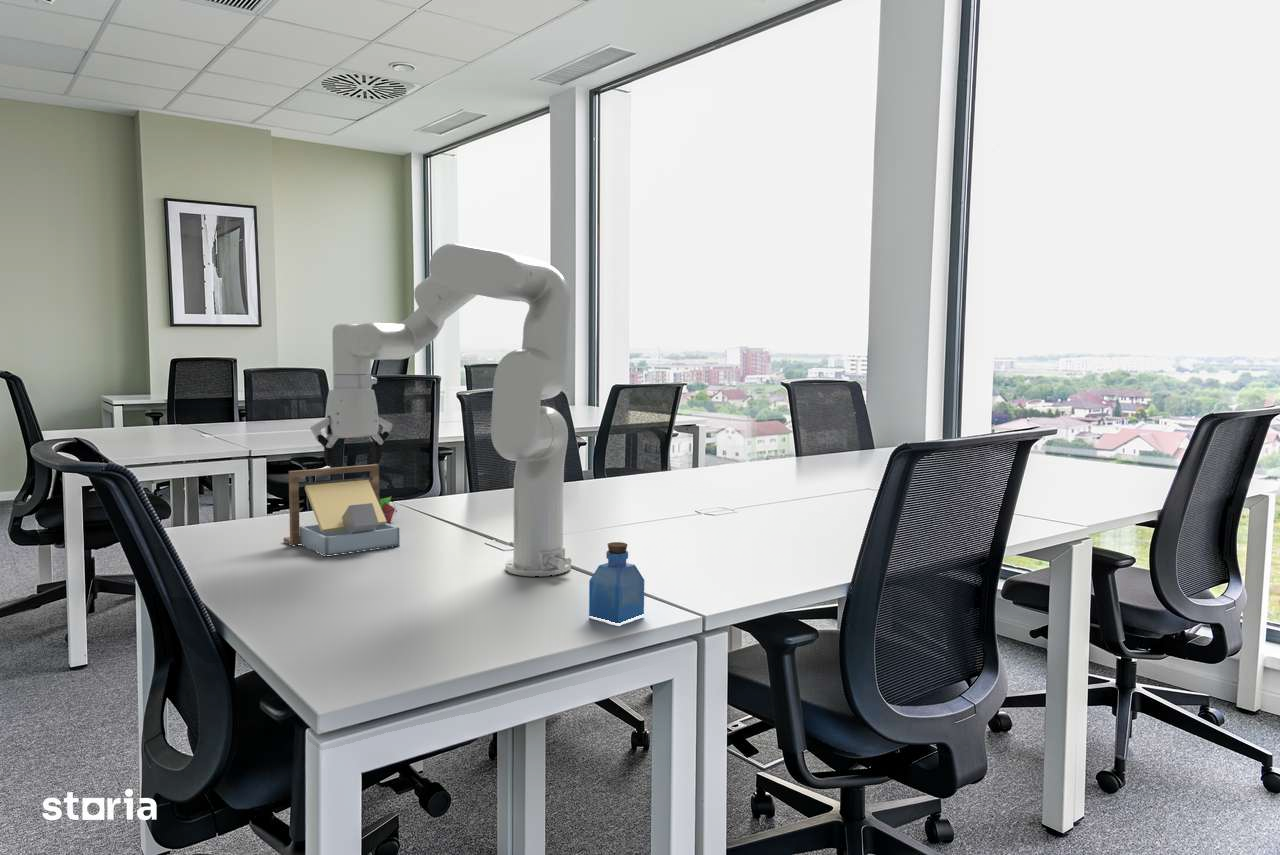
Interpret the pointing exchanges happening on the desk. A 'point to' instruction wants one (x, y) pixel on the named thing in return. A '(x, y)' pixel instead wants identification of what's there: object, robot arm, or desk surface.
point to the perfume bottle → (616, 587)
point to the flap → (340, 502)
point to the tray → (348, 539)
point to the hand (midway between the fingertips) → (353, 464)
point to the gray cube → (360, 518)
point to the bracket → (295, 484)
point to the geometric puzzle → (387, 508)
